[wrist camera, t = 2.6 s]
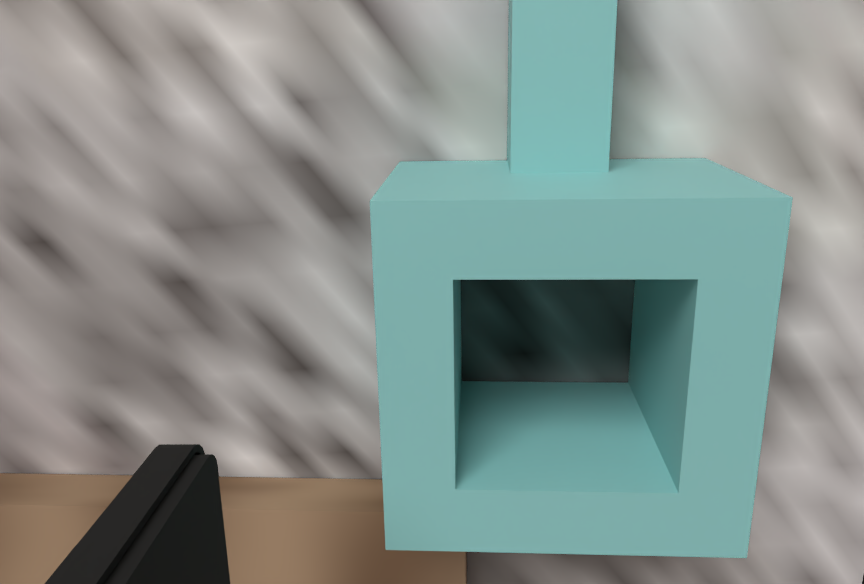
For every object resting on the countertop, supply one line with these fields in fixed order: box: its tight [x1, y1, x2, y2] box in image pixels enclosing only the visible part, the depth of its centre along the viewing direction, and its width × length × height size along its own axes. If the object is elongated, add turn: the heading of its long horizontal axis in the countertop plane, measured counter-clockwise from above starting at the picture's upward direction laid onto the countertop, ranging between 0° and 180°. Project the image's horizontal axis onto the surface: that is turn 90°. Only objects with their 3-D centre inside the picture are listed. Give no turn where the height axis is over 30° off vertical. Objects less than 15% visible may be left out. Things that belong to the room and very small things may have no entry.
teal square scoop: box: [370, 0, 793, 558], centre depth 15 cm, size 13×7×5 cm, turn 1°
